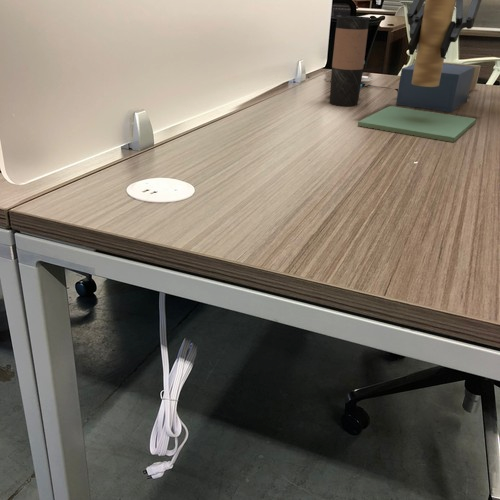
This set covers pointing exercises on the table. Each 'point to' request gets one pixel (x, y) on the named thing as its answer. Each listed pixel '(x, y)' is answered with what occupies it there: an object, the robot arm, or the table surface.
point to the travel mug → (348, 59)
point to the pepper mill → (432, 42)
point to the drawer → (475, 74)
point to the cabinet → (436, 89)
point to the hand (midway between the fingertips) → (426, 51)
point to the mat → (419, 123)
